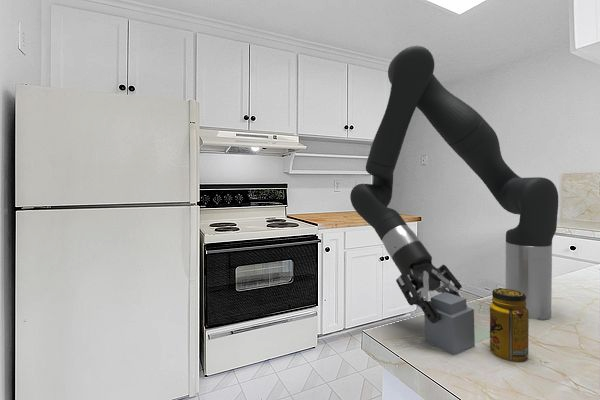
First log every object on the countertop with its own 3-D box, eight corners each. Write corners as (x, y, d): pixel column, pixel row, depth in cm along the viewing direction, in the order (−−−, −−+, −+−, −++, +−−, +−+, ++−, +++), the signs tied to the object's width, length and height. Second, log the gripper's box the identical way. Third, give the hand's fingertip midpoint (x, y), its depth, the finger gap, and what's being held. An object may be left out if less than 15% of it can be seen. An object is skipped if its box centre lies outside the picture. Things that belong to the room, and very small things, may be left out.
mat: (455, 318, 76) (455, 317, 76) (497, 335, 67) (497, 334, 67) (425, 328, 71) (425, 326, 71) (466, 347, 62) (466, 346, 62)
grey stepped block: (425, 342, 65) (423, 297, 64) (445, 333, 68) (444, 289, 67) (454, 356, 59) (452, 307, 59) (474, 346, 62) (473, 299, 62)
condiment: (479, 347, 63) (479, 287, 62) (519, 344, 64) (519, 284, 63) (506, 368, 56) (507, 300, 55) (551, 364, 56) (552, 297, 56)
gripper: (391, 243, 67) (439, 316, 57) (436, 236, 74) (485, 300, 64) (374, 263, 71) (415, 333, 62) (417, 255, 78) (461, 317, 69)
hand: (451, 316), depth 63 cm, fingers open, 8 cm apart
